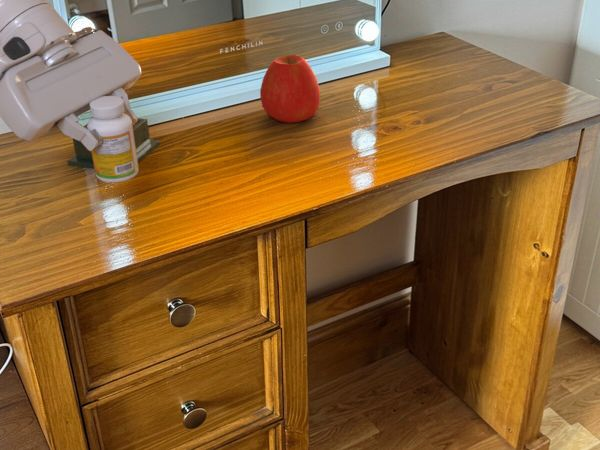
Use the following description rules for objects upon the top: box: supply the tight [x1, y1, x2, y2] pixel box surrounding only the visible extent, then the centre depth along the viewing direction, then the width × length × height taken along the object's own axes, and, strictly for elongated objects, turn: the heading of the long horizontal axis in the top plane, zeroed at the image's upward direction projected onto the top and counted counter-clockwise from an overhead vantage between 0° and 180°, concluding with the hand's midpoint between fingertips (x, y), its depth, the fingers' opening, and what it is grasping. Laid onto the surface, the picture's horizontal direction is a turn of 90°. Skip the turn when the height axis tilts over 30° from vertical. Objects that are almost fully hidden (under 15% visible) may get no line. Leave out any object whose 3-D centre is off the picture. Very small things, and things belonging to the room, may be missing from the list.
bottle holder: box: [66, 117, 160, 170], centre depth 120 cm, size 10×10×5 cm
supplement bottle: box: [86, 96, 140, 183], centre depth 94 cm, size 5×5×10 cm
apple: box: [259, 54, 321, 124], centre depth 130 cm, size 10×10×10 cm
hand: (115, 135), depth 94 cm, fingers closed on supplement bottle, 5 cm apart
